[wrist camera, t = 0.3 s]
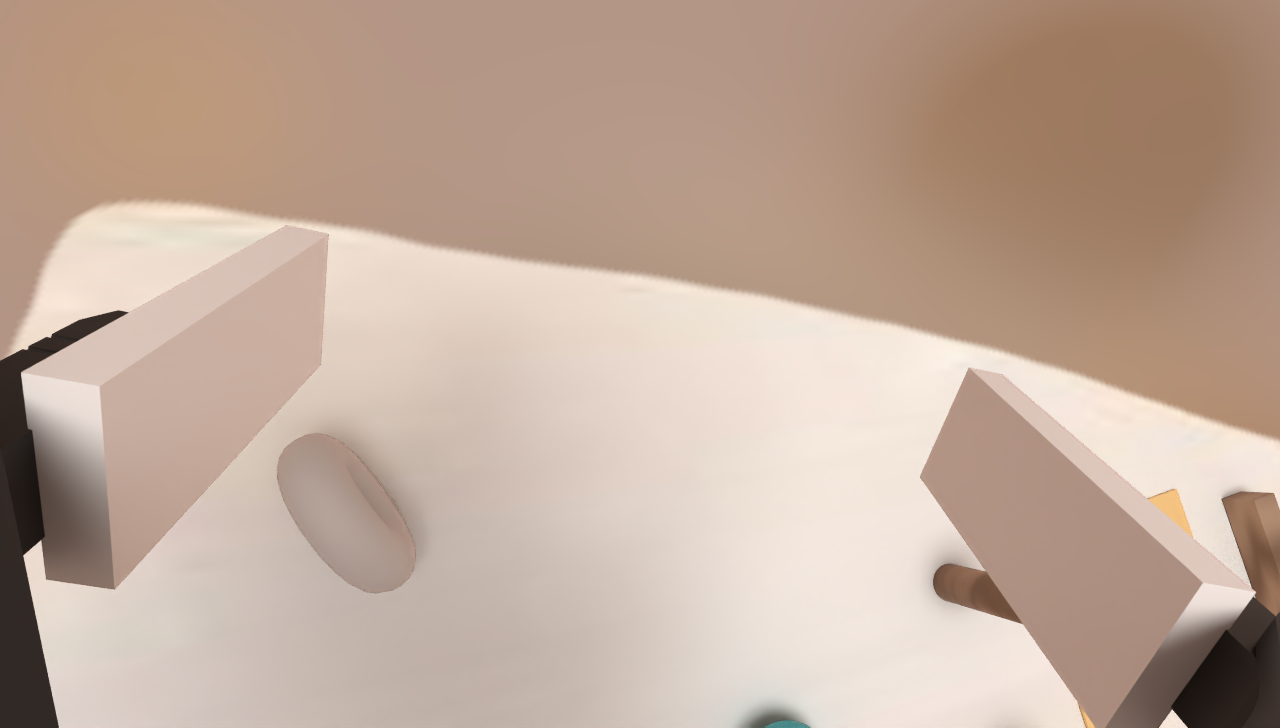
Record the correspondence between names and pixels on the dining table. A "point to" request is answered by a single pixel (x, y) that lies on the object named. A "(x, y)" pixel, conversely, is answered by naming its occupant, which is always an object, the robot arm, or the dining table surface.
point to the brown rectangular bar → (1258, 542)
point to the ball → (787, 724)
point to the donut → (345, 514)
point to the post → (972, 591)
